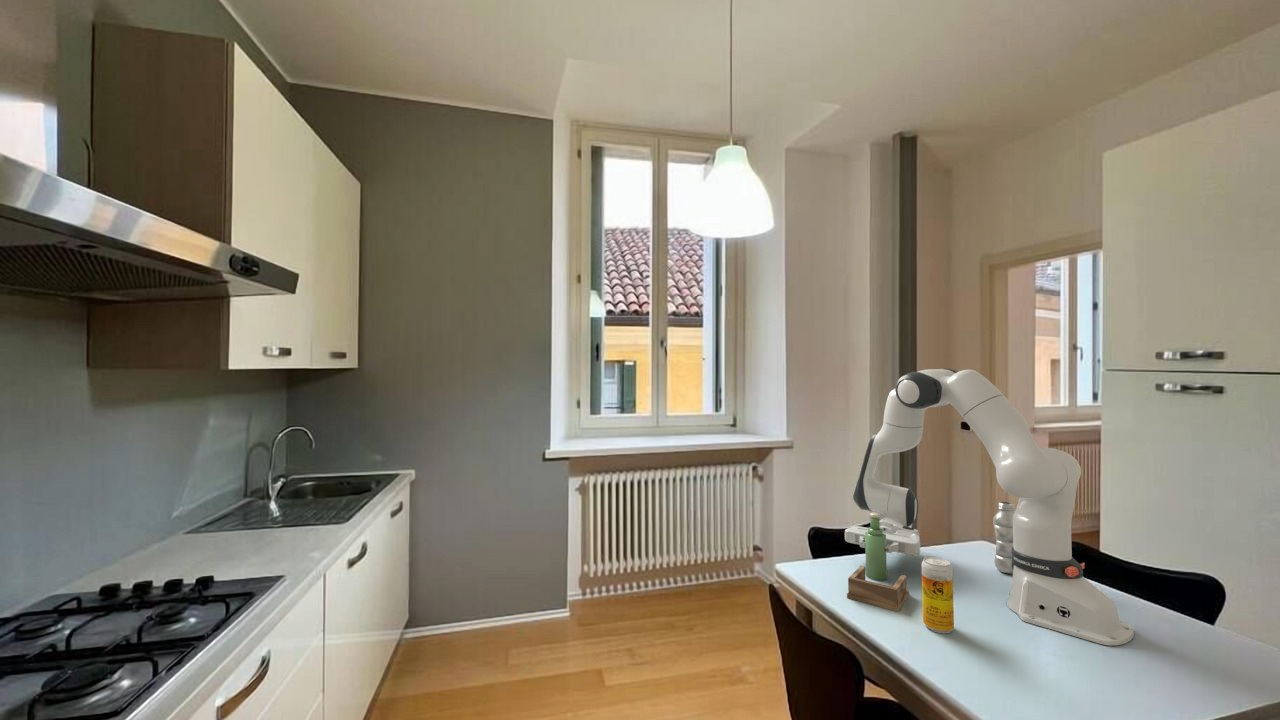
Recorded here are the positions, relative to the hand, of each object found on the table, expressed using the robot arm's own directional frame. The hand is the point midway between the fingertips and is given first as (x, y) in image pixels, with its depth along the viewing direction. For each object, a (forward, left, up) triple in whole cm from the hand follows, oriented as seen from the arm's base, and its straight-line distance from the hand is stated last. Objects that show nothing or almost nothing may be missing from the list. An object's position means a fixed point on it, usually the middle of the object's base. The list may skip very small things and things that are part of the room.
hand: (874, 547), depth 141 cm
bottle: (0, -1, -9) cm, 9 cm away
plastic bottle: (-18, -36, -9) cm, 41 cm away
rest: (-8, +10, -9) cm, 15 cm away
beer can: (-25, +13, -9) cm, 29 cm away
